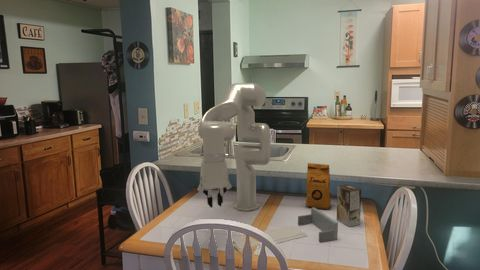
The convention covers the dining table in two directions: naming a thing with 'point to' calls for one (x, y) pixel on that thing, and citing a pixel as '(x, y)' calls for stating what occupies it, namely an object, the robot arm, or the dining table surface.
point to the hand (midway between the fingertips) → (215, 205)
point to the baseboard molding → (273, 236)
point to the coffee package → (318, 186)
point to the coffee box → (348, 205)
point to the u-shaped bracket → (321, 224)
